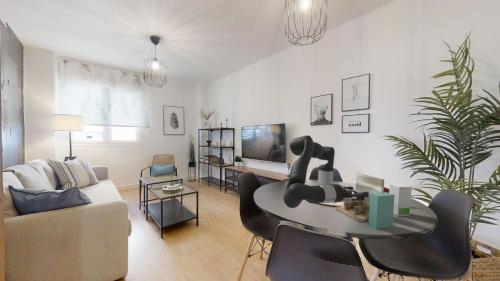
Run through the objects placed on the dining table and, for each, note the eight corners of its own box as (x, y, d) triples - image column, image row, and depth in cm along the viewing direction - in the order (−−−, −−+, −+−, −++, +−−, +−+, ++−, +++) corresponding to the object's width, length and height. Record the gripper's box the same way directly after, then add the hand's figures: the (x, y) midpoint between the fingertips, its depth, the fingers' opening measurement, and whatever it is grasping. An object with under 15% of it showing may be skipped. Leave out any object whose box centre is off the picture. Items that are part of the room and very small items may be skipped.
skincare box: (397, 216, 107) (399, 187, 107) (386, 211, 114) (388, 183, 113) (410, 215, 109) (412, 186, 108) (399, 210, 116) (401, 183, 115)
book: (375, 229, 92) (377, 196, 92) (368, 225, 96) (370, 193, 95) (392, 226, 95) (394, 194, 95) (384, 222, 99) (386, 192, 98)
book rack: (358, 221, 99) (360, 181, 98) (335, 209, 115) (337, 173, 114) (381, 218, 104) (384, 179, 103) (356, 207, 119) (358, 173, 118)
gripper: (342, 189, 79) (374, 187, 84) (319, 180, 93) (348, 179, 97) (340, 208, 79) (373, 205, 84) (318, 197, 93) (347, 195, 98)
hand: (359, 191), depth 91 cm, fingers open, 8 cm apart
